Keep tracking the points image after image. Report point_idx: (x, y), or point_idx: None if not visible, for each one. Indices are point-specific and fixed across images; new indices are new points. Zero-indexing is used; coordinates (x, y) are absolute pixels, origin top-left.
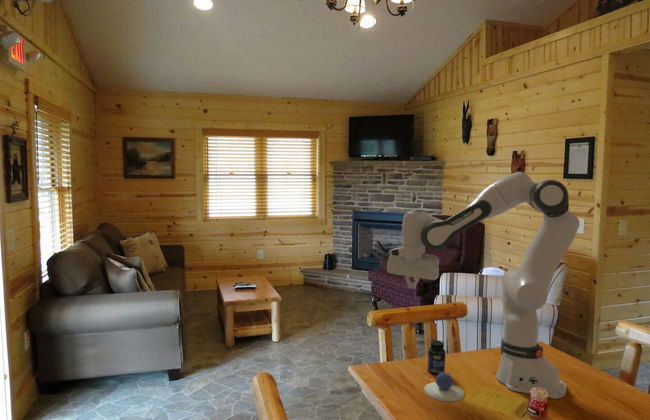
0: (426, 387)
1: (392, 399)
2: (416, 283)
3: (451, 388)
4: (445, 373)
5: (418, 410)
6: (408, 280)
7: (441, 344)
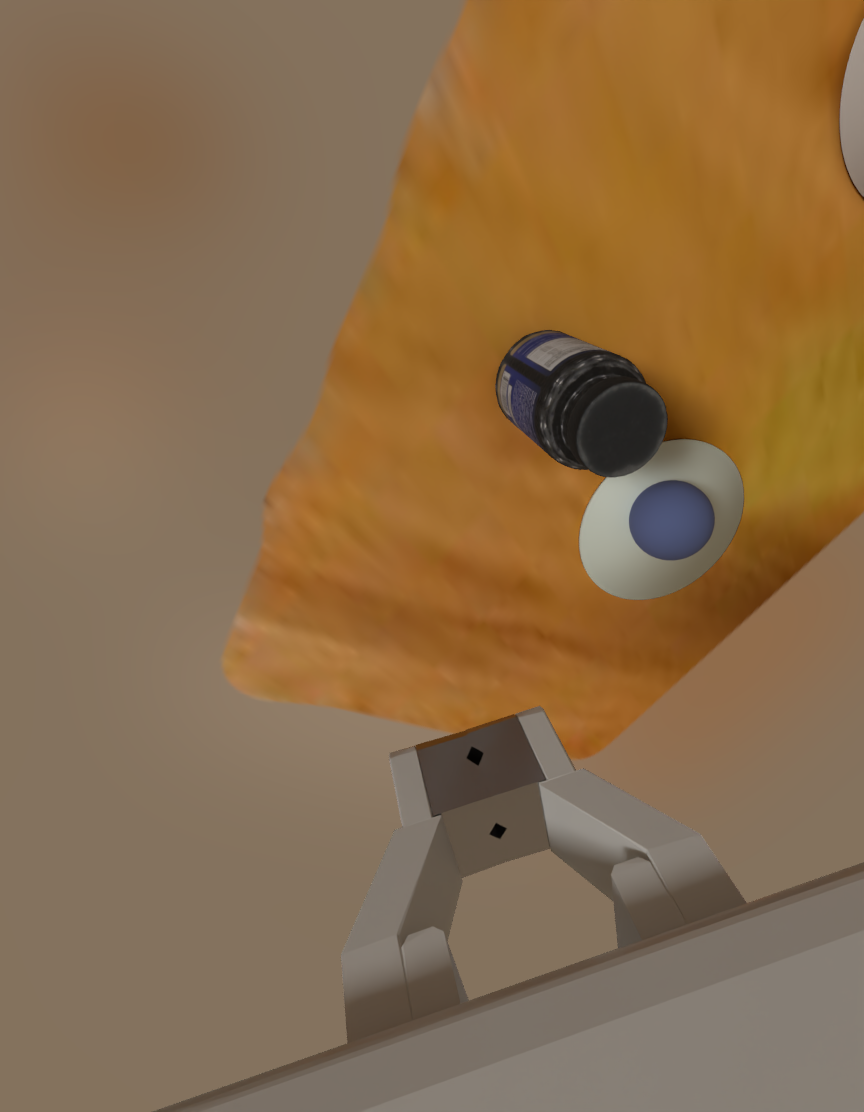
0: (590, 560)
1: None
2: (588, 782)
3: (679, 479)
4: (698, 536)
5: (641, 691)
6: (440, 927)
7: (659, 435)
